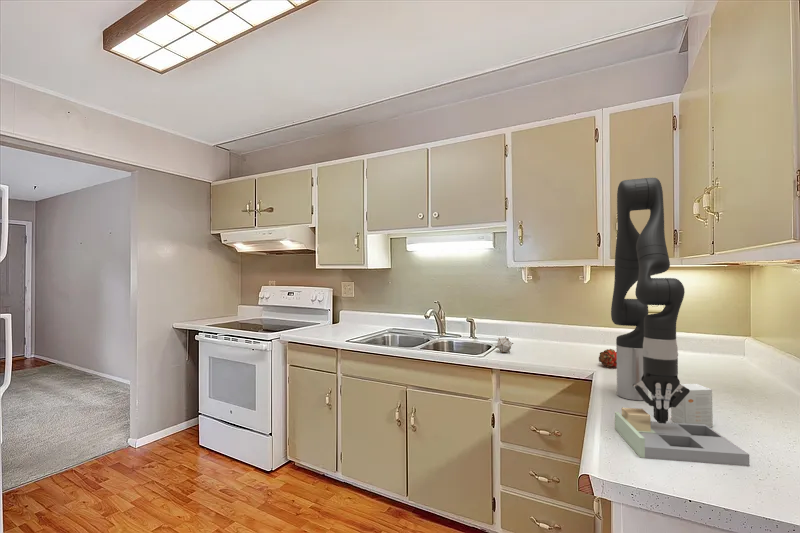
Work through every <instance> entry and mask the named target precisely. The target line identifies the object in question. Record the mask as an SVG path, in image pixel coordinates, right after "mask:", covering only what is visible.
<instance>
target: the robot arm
mask: <svg viewBox="0 0 800 533" xmlns="http://www.w3.org/2000/svg"><path fill="white" fill-rule="evenodd" d="M664 207H665V206H664V191H663V187H662V182H661V181H660V179H658V177H657V178H656V177H644V178H643V177H642V178H631V179H624V180H622V181H620V182H619V184H618V186H617V192H616V211H617V212H616V213H617V214H616V215H617V216H616V217H617V218H616V219H617V220H616V221H617V225H616V226H617V227H616V228H617V229H616V241H615V242H616V243H615V253H614V282H613V283H614V284H613V292H612V298H611V299H612V300H611V305H610V306H611V309H610V318H611V321H612V323H613V324H614V325H617V326H622V327H623V326H624V327H627V326H628V327H635V328H633V329H632V331H630V332H627V333H624V334H619V335H618V336H617V337H616V341H615V342H616V343H615V344H616V346H615V347H616V349H615V352H617V367H616V395H617V396H618V397H620V398H623V399H627V400H631V401H644V402H645V403H646V404H648V406H650V407H652V408H653V419H654V420H656V421H655V422H658V423H663V424H666V422H668V420H669V409H671V407H676V406H677V405H678V404H679V403H680V402H681V401H682V400H683V399H684V398H685V396H686V395H687V394H688V393H689V392H690V390H689V389H688V388H686V387H684V386H682V385H681V384H682V383H681V380H680V379H679V377H678V374H679V366H678V364H679V358H678V357H679V352H678V343H677V342H678V341H677V320H678V317H679V313H680V309H681V307H682V304H683V300H684V297H685V286H684V284H683V282H682V281H680V280H679V279H678V278H675V277H655V278H654V277H652V276H655V275H660V274H663V273H665V272H667V271H668V270H669V269H670V267H671V263H670V257H669V252H668V247H667V244H666V243H667V242H666V234H665V208H664ZM647 210H649V211H650V213H649V217H648V218H649V219H648V221H647V222H646V224H645V226H643V229H642V230H641V232H638V229H637V228H636V227H635V225H634V223H633V221H632V220H631V219H632V218H631V215H630V214H631V212H633V211H647ZM634 284H636V287H635V291H634V292H635V298H626V296H627V293H628V292H629V291H630V289H631V288H632V287H633V286H634ZM649 306H664V307H663V309H662V310H661V311H660V312H656V313H650V314H649ZM675 389H676V392H675V393H674V394H673V395H672V396H671V394H672V393H673V392H674V390H675ZM649 393H650V397H651V398H650V397H649Z"/></svg>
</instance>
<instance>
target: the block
mask: <svg viewBox="0 0 800 533" xmlns="http://www.w3.org/2000/svg"><path fill="white" fill-rule="evenodd" d="M621 415H622V416H623V417H624V418H625V419H626V420H627V421H628V422H629V423H630V424H631V425H632V426H633V427H634V428H635V429H636V430H637V431H650V432H651V421H652V420H651V418H652V417H651V414H649V413H648V412H647V411H646V410H644V409H643V408H635V407H633V408H632V407H621Z"/></svg>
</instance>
